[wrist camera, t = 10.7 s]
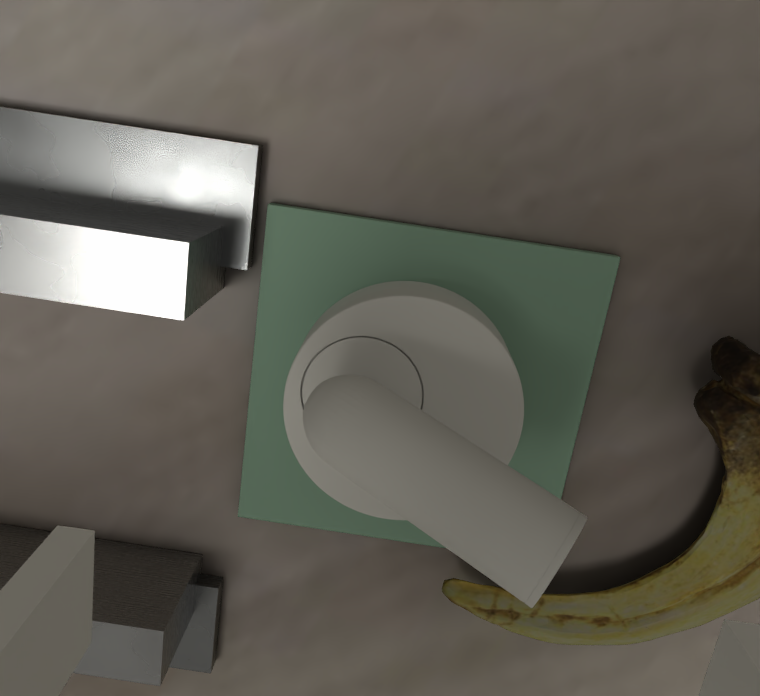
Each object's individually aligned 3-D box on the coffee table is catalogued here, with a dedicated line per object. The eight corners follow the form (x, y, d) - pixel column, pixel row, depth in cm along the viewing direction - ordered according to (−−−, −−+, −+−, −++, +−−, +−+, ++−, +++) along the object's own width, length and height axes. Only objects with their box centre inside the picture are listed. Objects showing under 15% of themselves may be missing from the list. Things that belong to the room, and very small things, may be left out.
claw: (817, 229, 25) (881, 247, 22) (979, 404, 28) (1058, 444, 24) (441, 575, 30) (448, 632, 27) (604, 701, 32) (629, 767, 29)
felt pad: (240, 509, 30) (237, 516, 30) (270, 202, 26) (267, 204, 26) (542, 555, 30) (545, 563, 30) (615, 255, 26) (620, 257, 26)
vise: (-86, 614, 32) (-172, 698, 28) (-117, 88, 26) (-238, 77, 21) (215, 660, 32) (181, 751, 28) (262, 145, 26) (228, 148, 21)
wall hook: (513, 715, 20) (188, 577, 19) (481, 534, 29) (260, 434, 28) (678, 470, 18) (316, 300, 17) (587, 356, 27) (349, 242, 26)
